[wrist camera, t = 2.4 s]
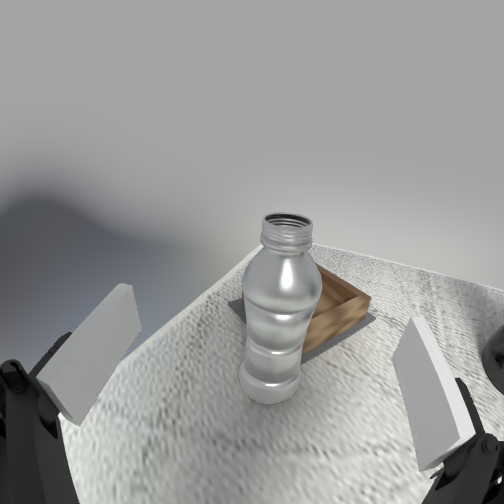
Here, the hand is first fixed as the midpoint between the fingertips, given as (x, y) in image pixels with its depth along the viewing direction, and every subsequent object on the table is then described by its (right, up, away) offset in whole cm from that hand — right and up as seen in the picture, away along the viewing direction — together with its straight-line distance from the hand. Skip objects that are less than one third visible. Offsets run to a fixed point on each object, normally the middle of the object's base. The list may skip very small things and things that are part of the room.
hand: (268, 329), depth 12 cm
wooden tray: (+7, -6, +30) cm, 31 cm away
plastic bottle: (+1, -12, +17) cm, 21 cm away
